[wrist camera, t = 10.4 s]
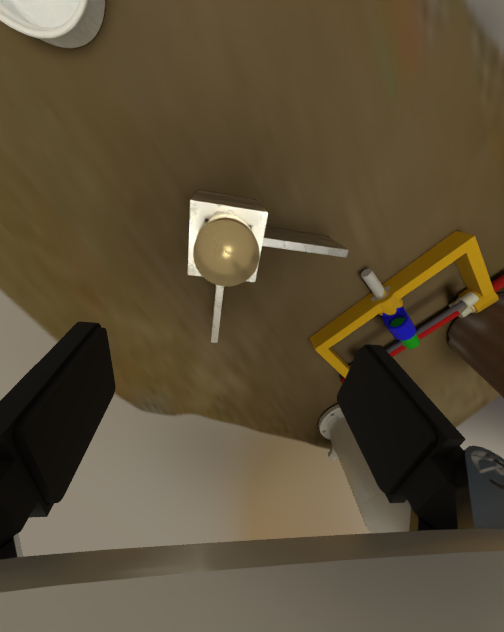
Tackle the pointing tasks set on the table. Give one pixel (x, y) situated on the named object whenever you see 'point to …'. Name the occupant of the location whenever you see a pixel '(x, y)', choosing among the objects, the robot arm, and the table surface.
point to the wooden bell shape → (226, 250)
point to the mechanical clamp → (390, 293)
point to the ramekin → (55, 19)
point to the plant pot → (482, 342)
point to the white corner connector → (255, 217)
